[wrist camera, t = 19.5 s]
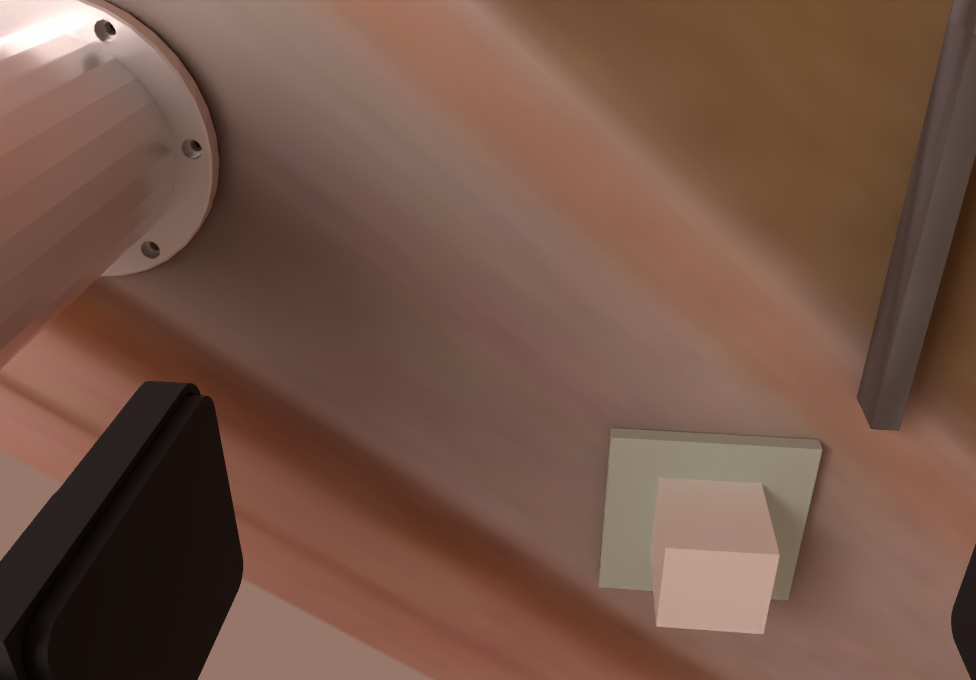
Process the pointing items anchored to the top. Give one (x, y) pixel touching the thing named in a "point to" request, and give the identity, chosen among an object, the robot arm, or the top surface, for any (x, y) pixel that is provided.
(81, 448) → the top surface
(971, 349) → the top surface
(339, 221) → the top surface
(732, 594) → the blank block
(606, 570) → the mat
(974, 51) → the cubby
